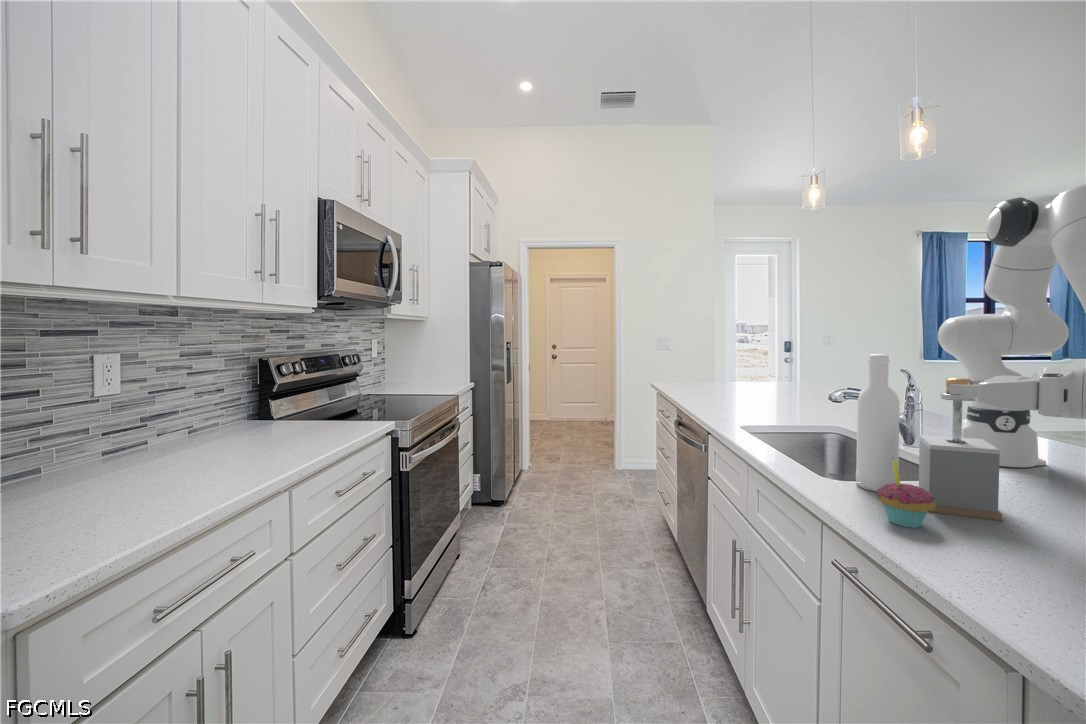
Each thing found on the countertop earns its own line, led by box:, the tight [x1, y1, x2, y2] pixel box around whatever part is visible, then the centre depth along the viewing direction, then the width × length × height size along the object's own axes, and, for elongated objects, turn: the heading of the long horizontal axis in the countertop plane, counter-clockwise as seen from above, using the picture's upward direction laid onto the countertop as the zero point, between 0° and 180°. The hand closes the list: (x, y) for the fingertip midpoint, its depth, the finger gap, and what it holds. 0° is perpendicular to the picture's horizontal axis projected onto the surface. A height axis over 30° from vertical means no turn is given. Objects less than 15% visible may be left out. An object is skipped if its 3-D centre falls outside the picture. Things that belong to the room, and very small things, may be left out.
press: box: [918, 434, 1004, 521], centre depth 94 cm, size 11×11×13 cm
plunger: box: [940, 377, 976, 444], centre depth 93 cm, size 8×8×18 cm
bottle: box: [855, 353, 901, 492], centre depth 106 cm, size 8×8×30 cm
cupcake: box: [876, 456, 936, 529], centre depth 86 cm, size 9×8×12 cm
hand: (954, 386), depth 93 cm, fingers open, 8 cm apart
